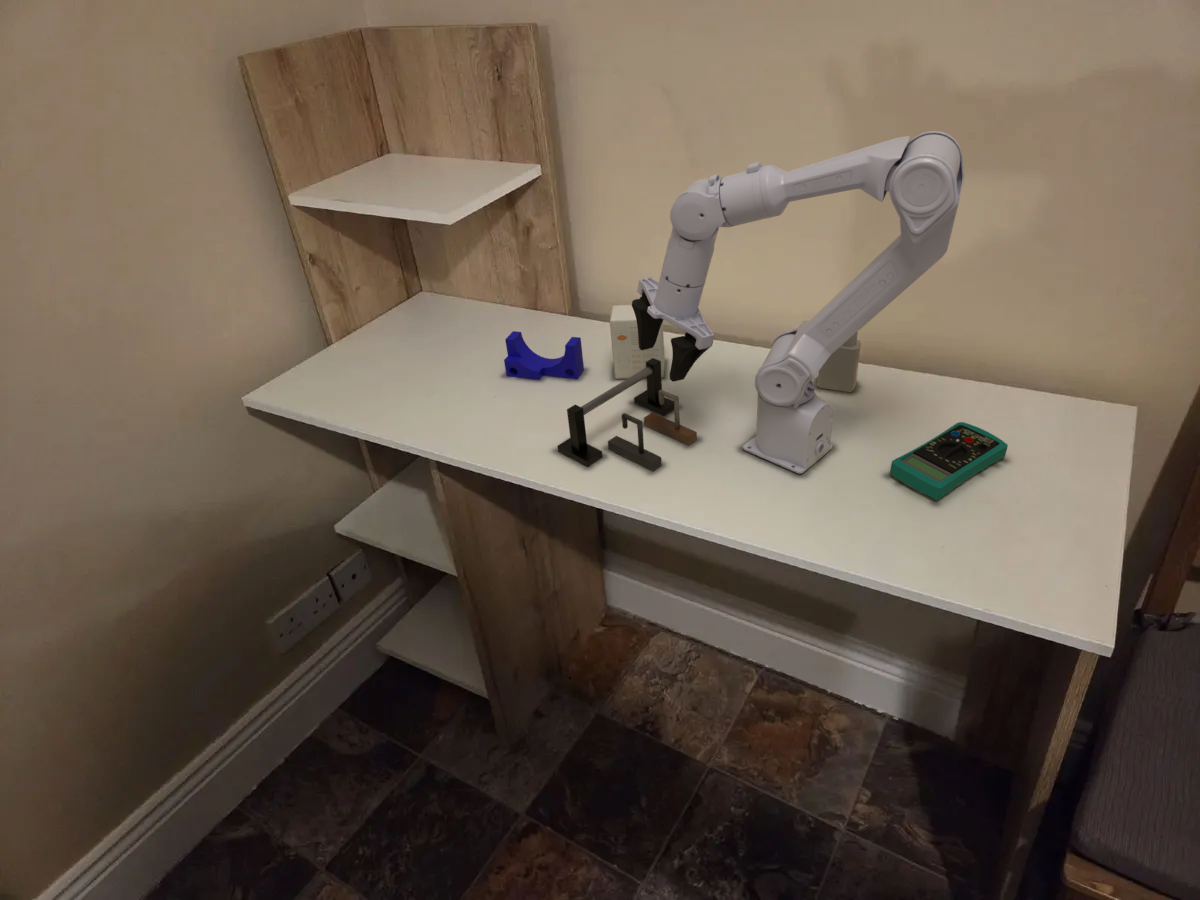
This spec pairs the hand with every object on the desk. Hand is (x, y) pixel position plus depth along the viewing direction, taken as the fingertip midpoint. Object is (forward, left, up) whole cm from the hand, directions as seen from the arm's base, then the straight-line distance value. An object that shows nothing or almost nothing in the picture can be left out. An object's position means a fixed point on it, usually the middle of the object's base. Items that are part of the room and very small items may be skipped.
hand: (661, 363), depth 111 cm
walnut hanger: (-2, +1, -11) cm, 11 cm away
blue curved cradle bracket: (+26, 0, -11) cm, 28 cm away
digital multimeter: (-35, -15, -11) cm, 40 cm away
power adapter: (-13, -24, -7) cm, 29 cm away
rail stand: (+5, +4, -11) cm, 12 cm away
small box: (+14, -10, -11) cm, 20 cm away
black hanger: (-2, +8, -11) cm, 13 cm away
